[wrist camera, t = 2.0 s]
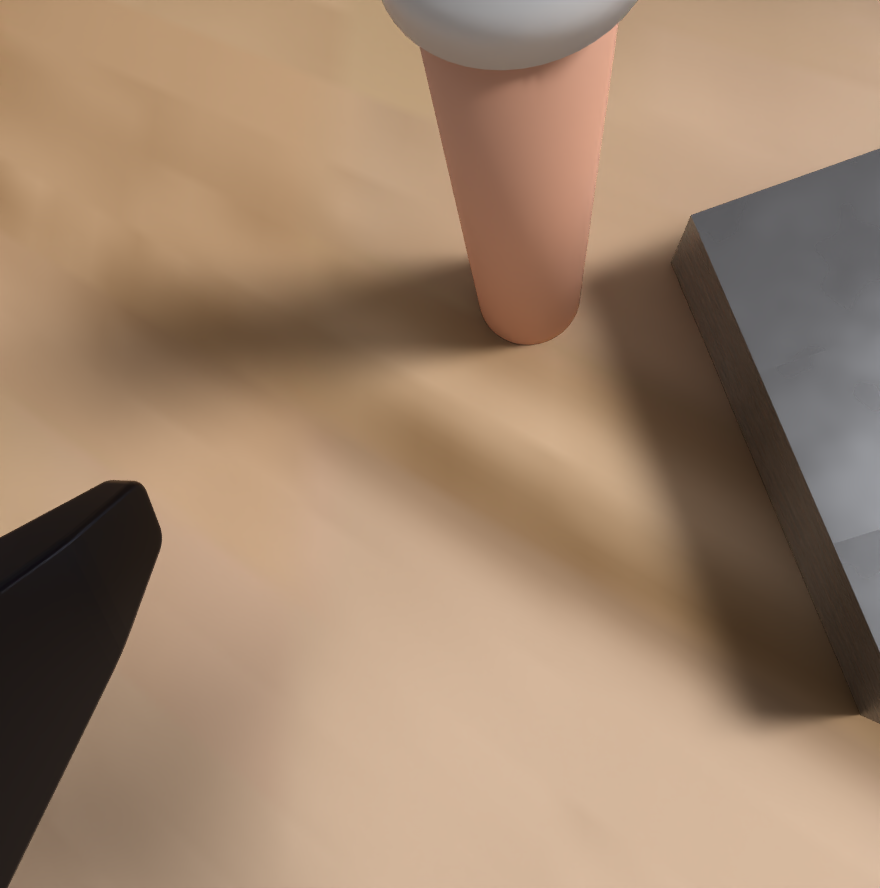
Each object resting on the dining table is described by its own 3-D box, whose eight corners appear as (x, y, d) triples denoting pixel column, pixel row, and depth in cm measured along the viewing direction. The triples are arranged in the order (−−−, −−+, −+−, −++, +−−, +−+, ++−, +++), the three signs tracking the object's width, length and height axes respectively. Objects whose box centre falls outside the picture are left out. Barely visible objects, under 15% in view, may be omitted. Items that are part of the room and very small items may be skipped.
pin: (489, 374, 22) (406, 60, 9) (451, 263, 23) (321, -182, 10) (610, 332, 22) (724, -62, 8) (568, 221, 23) (606, -300, 9)
